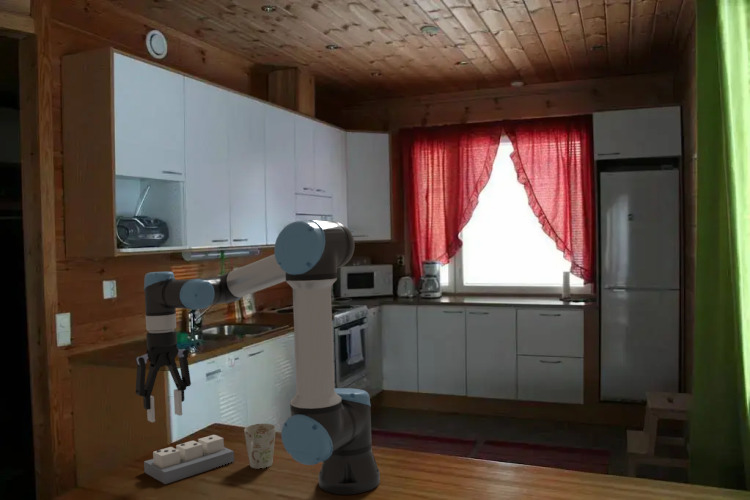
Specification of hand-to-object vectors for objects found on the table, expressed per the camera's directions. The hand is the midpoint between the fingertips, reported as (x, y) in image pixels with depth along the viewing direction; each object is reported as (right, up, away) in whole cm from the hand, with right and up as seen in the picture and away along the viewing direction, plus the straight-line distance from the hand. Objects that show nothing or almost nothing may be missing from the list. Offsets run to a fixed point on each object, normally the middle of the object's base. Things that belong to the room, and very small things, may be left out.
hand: (165, 417), depth 161 cm
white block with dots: (0, -13, 0) cm, 13 cm away
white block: (+10, -12, +9) cm, 18 cm away
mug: (+24, -14, +3) cm, 28 cm away
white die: (+5, -12, +5) cm, 14 cm away
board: (+5, -15, +5) cm, 16 cm away
